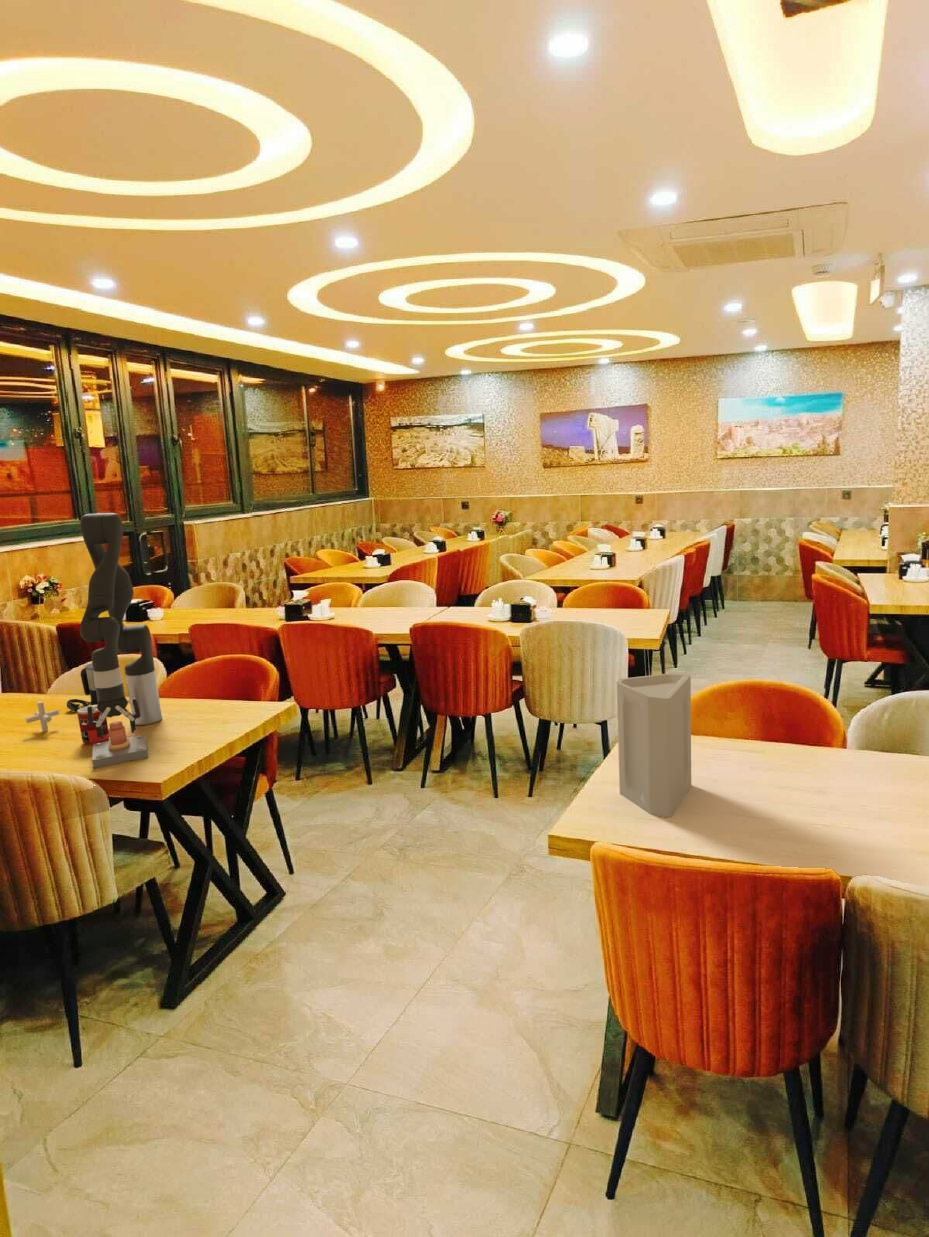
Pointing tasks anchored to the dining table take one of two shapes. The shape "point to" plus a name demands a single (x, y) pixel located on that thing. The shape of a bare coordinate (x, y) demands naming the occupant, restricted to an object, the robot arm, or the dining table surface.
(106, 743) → the square plate with knob
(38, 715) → the pipe connector
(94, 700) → the milk frother
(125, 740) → the orange rounded knob
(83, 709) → the canned food
